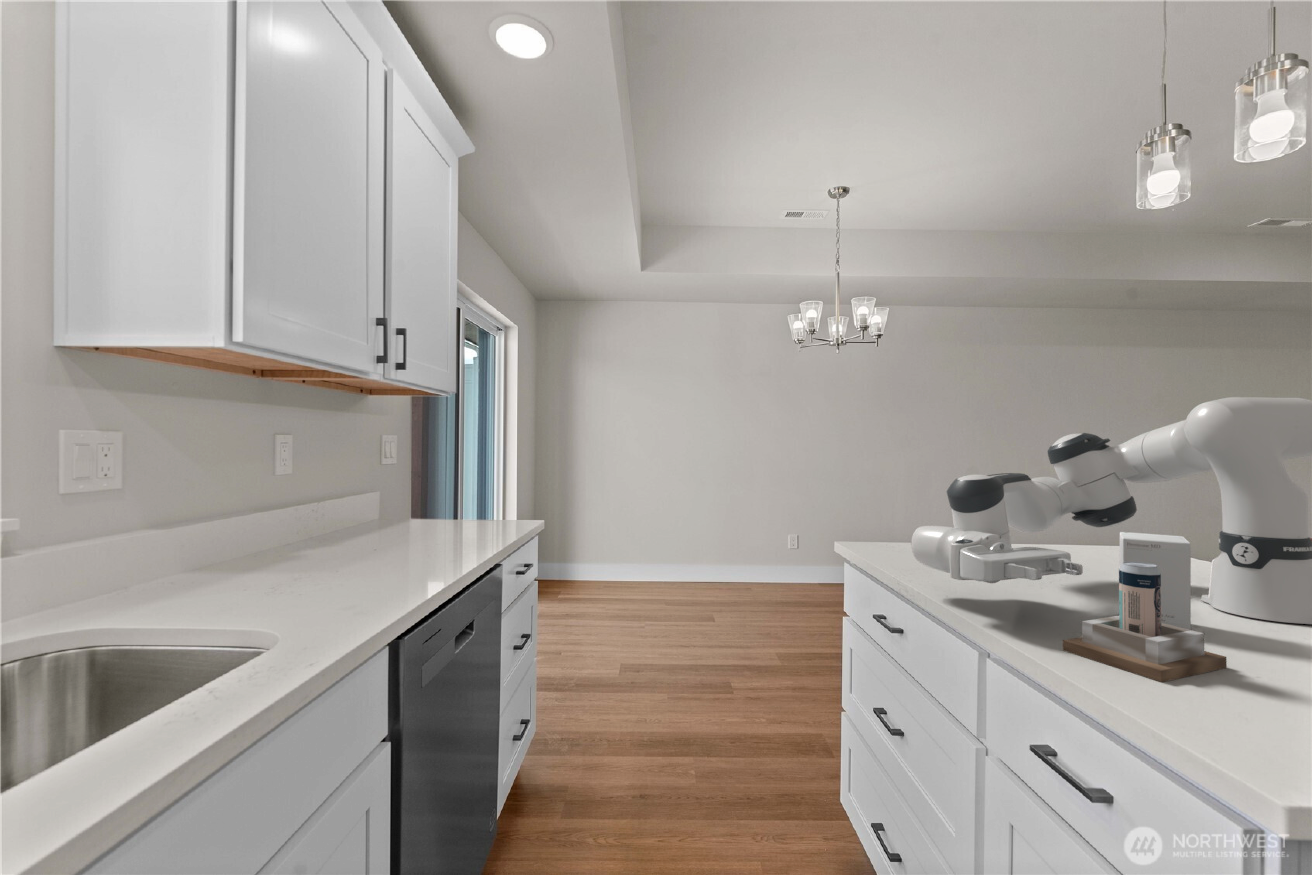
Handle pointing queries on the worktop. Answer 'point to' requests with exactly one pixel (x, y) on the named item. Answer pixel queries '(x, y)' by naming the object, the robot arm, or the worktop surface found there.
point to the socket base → (1145, 650)
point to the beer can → (1140, 598)
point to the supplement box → (1164, 571)
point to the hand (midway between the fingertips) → (1059, 572)
